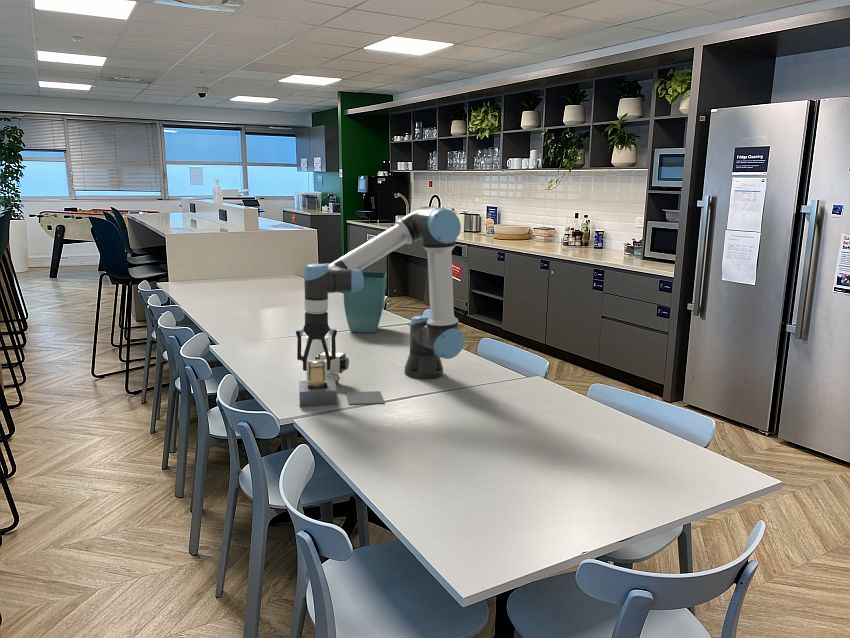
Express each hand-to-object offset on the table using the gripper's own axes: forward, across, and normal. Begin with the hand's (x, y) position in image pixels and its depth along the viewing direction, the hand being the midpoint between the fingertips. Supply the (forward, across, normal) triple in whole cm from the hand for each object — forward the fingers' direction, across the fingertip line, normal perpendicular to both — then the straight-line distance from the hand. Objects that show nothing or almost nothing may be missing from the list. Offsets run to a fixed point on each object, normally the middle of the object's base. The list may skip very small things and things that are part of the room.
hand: (316, 379), depth 211 cm
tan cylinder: (+6, 0, 0) cm, 6 cm away
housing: (+7, 0, 0) cm, 7 cm away
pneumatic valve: (+7, -6, -19) cm, 21 cm away
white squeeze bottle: (+7, -2, -44) cm, 45 cm away
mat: (+7, -16, 0) cm, 18 cm away
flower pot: (+8, -27, -103) cm, 107 cm away
